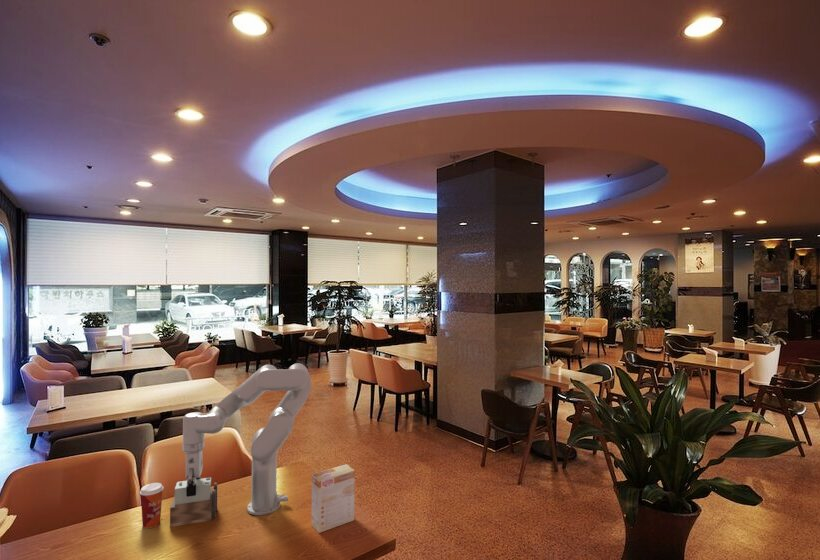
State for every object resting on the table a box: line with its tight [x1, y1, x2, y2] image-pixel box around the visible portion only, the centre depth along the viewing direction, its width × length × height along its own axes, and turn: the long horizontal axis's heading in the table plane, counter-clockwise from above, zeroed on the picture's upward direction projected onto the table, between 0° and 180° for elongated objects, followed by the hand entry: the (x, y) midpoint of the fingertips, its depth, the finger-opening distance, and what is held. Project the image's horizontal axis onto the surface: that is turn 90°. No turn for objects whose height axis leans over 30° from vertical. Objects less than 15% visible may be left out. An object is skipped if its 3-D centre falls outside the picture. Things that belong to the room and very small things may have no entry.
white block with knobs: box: [174, 477, 212, 505], centre depth 169 cm, size 12×6×7 cm, turn 110°
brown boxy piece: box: [169, 482, 218, 527], centre depth 169 cm, size 15×10×10 cm, turn 108°
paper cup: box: [139, 482, 164, 529], centre depth 163 cm, size 8×8×14 cm
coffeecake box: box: [311, 463, 356, 534], centre depth 166 cm, size 15×7×20 cm, turn 126°
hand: (193, 489), depth 169 cm, fingers open, 9 cm apart
